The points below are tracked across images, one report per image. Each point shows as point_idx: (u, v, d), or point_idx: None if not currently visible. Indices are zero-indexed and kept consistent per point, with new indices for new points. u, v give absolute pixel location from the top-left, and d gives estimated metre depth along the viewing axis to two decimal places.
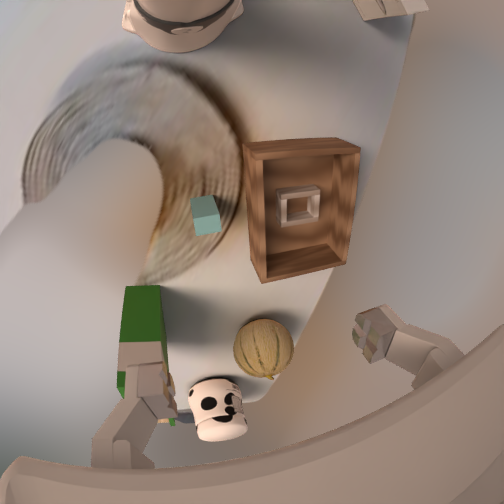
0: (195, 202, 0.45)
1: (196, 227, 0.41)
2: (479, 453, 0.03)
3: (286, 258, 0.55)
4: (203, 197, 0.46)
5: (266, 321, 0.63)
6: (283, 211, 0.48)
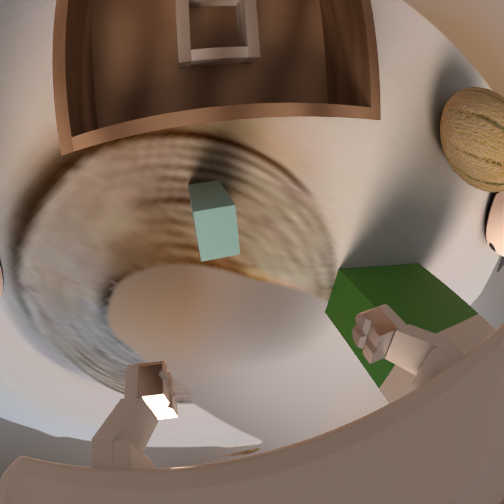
0: None
1: (221, 254, 0.21)
2: (479, 453, 0.03)
3: (337, 52, 0.19)
4: None
5: (447, 116, 0.24)
6: (220, 53, 0.17)
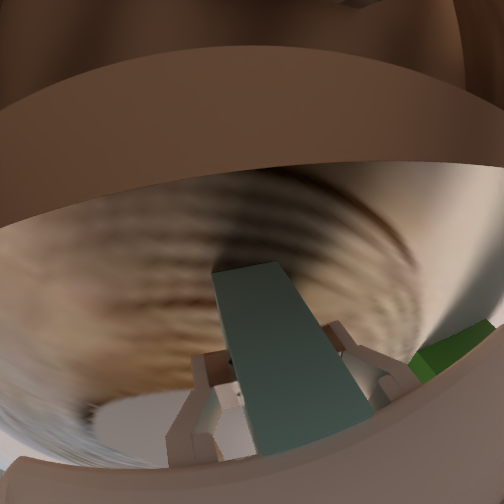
0: None
1: None
2: (479, 453, 0.03)
3: (491, 35, 0.06)
4: (218, 310, 0.12)
5: None
6: None
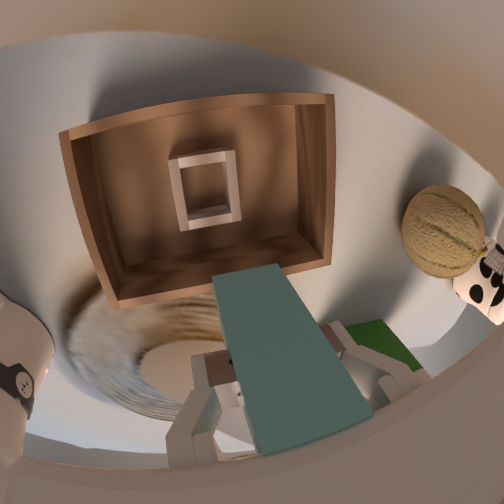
0: None
1: None
2: (479, 453, 0.03)
3: (306, 196, 0.30)
4: (218, 312, 0.12)
5: (407, 219, 0.35)
6: (210, 222, 0.28)
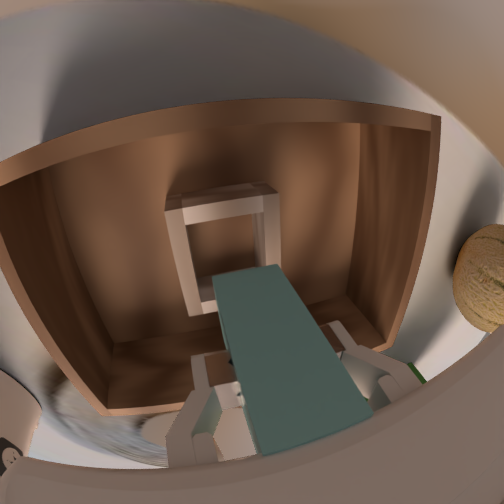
0: None
1: None
2: (479, 453, 0.03)
3: (368, 256, 0.20)
4: (218, 312, 0.12)
5: (466, 268, 0.25)
6: None
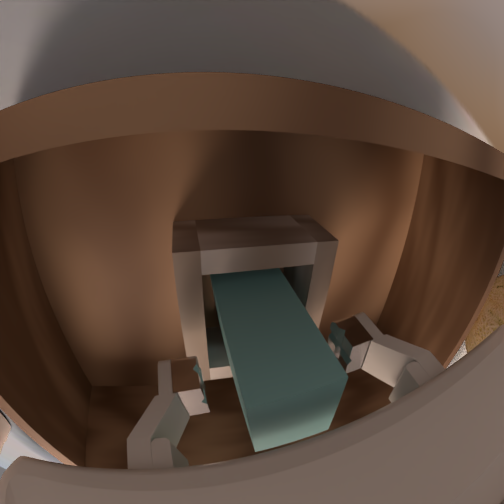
0: (223, 337, 0.13)
1: (294, 438, 0.08)
2: (479, 453, 0.03)
3: (407, 312, 0.16)
4: (213, 294, 0.13)
5: (485, 319, 0.21)
6: None
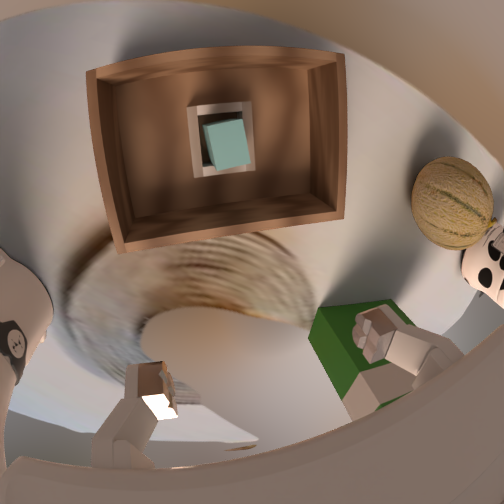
0: (209, 153, 0.27)
1: (233, 163, 0.23)
2: (479, 453, 0.03)
3: (318, 153, 0.30)
4: (205, 139, 0.28)
5: (417, 188, 0.34)
6: (225, 170, 0.28)
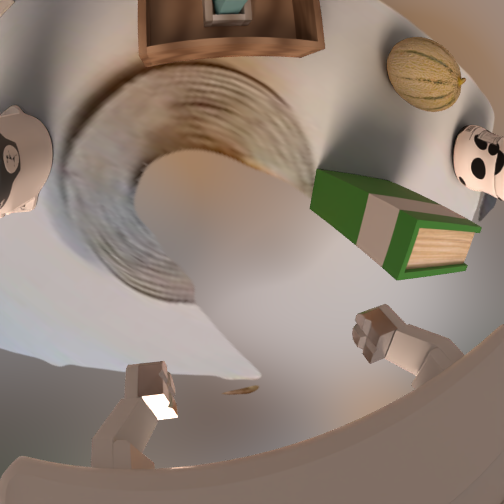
0: (217, 10, 0.26)
1: None
2: (479, 453, 0.03)
3: (300, 17, 0.29)
4: (214, 5, 0.27)
5: (389, 58, 0.33)
6: (229, 17, 0.27)
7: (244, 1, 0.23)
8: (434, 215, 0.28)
